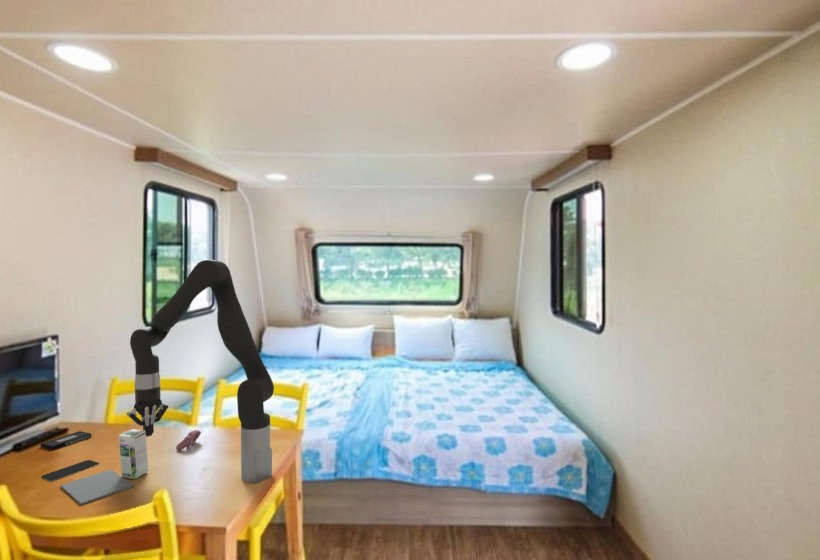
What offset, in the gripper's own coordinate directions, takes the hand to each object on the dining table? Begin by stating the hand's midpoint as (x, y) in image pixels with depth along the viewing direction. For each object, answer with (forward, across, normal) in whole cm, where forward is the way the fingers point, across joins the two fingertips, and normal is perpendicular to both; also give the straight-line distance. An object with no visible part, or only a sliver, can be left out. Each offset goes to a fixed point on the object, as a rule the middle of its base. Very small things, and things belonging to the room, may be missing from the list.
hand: (148, 435), depth 155 cm
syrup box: (+12, -4, 0) cm, 13 cm away
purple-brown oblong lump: (+12, +19, +10) cm, 24 cm away
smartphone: (+12, -17, +21) cm, 29 cm away
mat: (+12, -15, 0) cm, 19 cm away
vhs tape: (+13, -9, +52) cm, 54 cm away
